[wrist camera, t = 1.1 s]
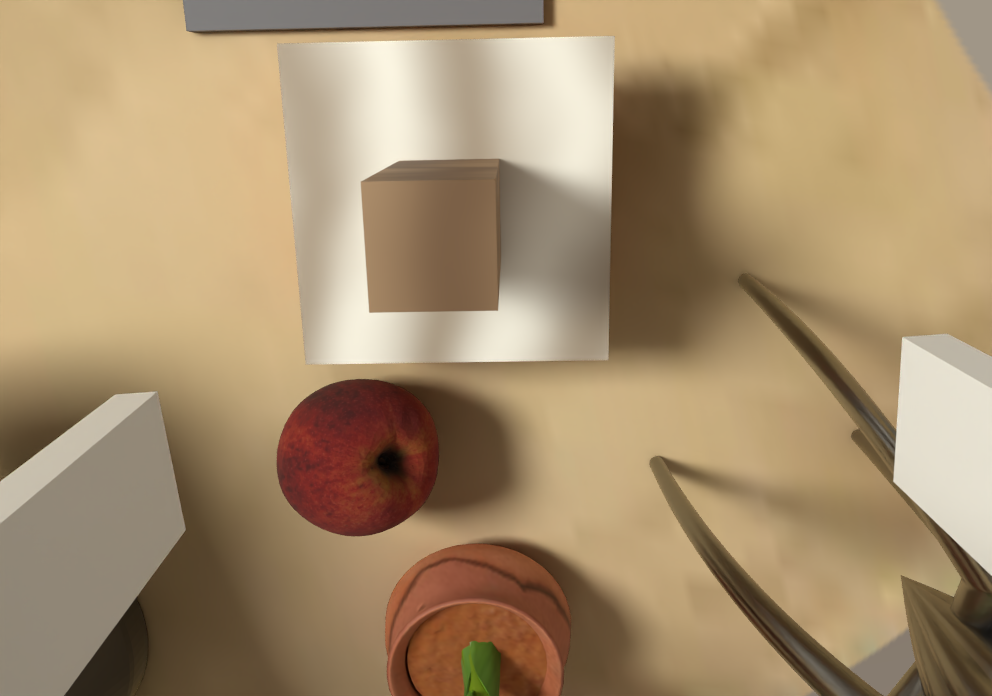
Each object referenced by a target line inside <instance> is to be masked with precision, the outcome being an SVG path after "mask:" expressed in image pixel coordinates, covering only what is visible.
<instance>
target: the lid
mask: <svg viewBox="0 0 992 696" xmlns="http://www.w3.org/2000/svg"><path fill="white" fill-rule="evenodd" d="M614 42H615V36H592V37H548V38H504V39H460V40H416V41H372V42H328V43H284V44H277V50H278V61H279V72H280V83H281V94H282V105H283V116H284V128H285V139H286V150H287V161H288V172H289V183H290V194H291V205H292V216H293V227H294V238H295V250H296V261H297V272H298V283H299V294H300V305H301V316H302V327H303V338H304V349H305V360H306V364H367V363H437V362H507V361H576V360H608V352H609V300H610V249H611V197H612V145H613V94H614Z"/></svg>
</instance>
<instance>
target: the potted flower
mask: <svg viewBox="0 0 992 696" xmlns="http://www.w3.org/2000/svg"><path fill="white" fill-rule="evenodd" d="M570 636H571V616H570V609H569V606H568V603H567V600H566V597H565V595H564V593H563V591H562V590H561V588H560V586H559V585H558V583H557V582H556V581H555V579H554V578H553V577H552V575H551V574H549V573H548V572H547V571H546V570H545V569H544V568H543V567H542V566H541V565H540V564H538V563H537V562H535V561H534V560H532V559H531V558H529V557H527V556H525V555H523V554H521V553H519V552H517V551H514V550H511V549H508V548H505V547H502V546H495V545H489V544H465V545H457V546H453V547H449V548H445V549H442V550H440V551H437V552H435V553H433V554H430V555H428V556H427V557H425V558H424V559H422V560H420V561H419V562H417V563H416V564H415V565H414V566H413V567H411V568H410V569H409V570H408V571H407V572H406V573H405V574H404V576H403V577H402V578H401V579H400V580H399V582H398V583H397V585H396V587H395V588H394V590H393V592H392V594H391V597H390V600H389V602H388V605H387V612H386V622H385V641H386V649H387V654H388V662H387V680H388V685H389V690H390V692H391V695H392V696H560V695H561V692H562V687H563V683H564V666H565V664H566V661H567V657H568V652H569V646H570Z"/></svg>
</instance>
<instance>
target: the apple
mask: <svg viewBox="0 0 992 696" xmlns="http://www.w3.org/2000/svg"><path fill="white" fill-rule="evenodd" d="M438 462H439V444H438V436H437V431H436V427H435V424H434V421H433V419H432V417H431V415H430V413H429V412H428V410H427V409H426V407H425V406H424V405H423V404H422V403H421V402H420V401H419V400H418V399H417V398H416V397H415V396H414V395H413V394H411V393H410V392H408V391H407V390H405V389H403V388H401V387H399V386H396V385H394V384H391V383H388V382H384V381H379V380H369V379H355V380H345V381H340V382H336V383H333V384H330V385H327V386H325V387H323V388H321V389H319V390H317V391H315V392H314V393H312V394H311V395H309V396H308V397H307V398H306V399H304V400H303V401H302V402H301V403H300V404H299V405H298V406H297V407H296V408H295V409H294V411H293V412H292V414H291V415H290V417H289V419H288V420H287V422H286V424H285V426H284V429H283V431H282V434H281V437H280V440H279V445H278V449H277V473H278V479H279V484H280V487H281V489H282V492H283V494H284V496H285V497H286V499H287V501H288V502H289V503H290V505H291V506H292V507H293V508H294V509H295V510H296V511H297V512H298V513H299V514H300V515H301V516H302V517H304V518H305V519H306V520H308V521H309V522H311V523H312V524H314V525H315V526H318V527H320V528H322V529H324V530H327V531H329V532H332V533H336V534H340V535H345V536H366V535H372V534H376V533H380V532H383V531H385V530H388V529H390V528H392V527H394V526H397V525H398V524H400V523H402V522H403V521H405V520H406V519H408V518H409V517H410V516H412V515H413V514H414V513H415V512H416V511H418V510H419V508H420V507H421V506H422V505H423V504H424V503H425V501H426V500H427V498H428V496H429V495H430V493H431V491H432V488H433V486H434V483H435V480H436V476H437V470H438Z"/></svg>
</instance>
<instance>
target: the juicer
mask: <svg viewBox="0 0 992 696" xmlns="http://www.w3.org/2000/svg"><path fill="white" fill-rule="evenodd" d="M738 283H739V285H740V287H741V288H742V289H743V290H744V291H745V292H746V293H747V294H748V295H749V296H750V297H751V298H752V299H753V300H754V301H755V302H756V304H757V305H758V306H759V307H760V308H761V309H762V310H763V311H764V312H765V314H766V315H767V316H768V317H769V318H770V319H771V320H772V321H773V323H774V324H775V325H776V326H777V327H778V328H779V330H780V331H781V332H782V333H783V334H784V335H785V337H786V338H787V339H788V340H789V341H790V342H791V344H792V345H793V346H794V347H795V348H796V350H797V351H798V352H799V353H800V354H801V356H802V357H803V358H804V359H805V360H806V362H807V363H808V364H809V365H810V367H811V368H812V369H813V370H814V371H815V373H816V374H817V375H818V376H819V378H820V379H821V380H822V381H823V383H824V384H825V385H826V386H827V388H828V389H829V390H830V391H831V393H832V394H833V395H834V396H835V398H836V399H837V400H838V402H839V403H840V404H841V405H842V407H843V408H844V409H845V411H846V412H847V413H848V414H849V416H850V417H851V418H852V420H853V421H854V422H855V424H856V425H857V426H858V428H859V429H860V430H855V431H854V432H853V433H852V435H851V438H852V440H853V441H854V442H855V443H856V444H857V446H858V447H859V448H860V449H861V450H862V451H863V452H864V453H865V455H866V456H867V457H868V458H869V459H870V460H871V461H872V463H873V464H874V465H875V466H876V467H877V468H878V470H879V471H880V472H881V473H882V474H883V475H884V477H885V478H886V479H887V480H888V481H889V482H890V484H891V485H892V486H893V487H894V488H895V489H896V491H897V492H898V493H899V494H900V495H901V497H902V498H903V499H904V500H905V501H906V503H907V504H908V505H909V506H910V507H911V509H912V510H913V511H914V512H915V513H916V515H917V516H918V517H919V518H920V519H921V521H922V522H923V523H924V524H925V525H926V527H927V528H928V529H929V530H930V532H931V533H932V534H933V535H934V536H935V538H936V539H937V540H938V542H939V543H940V545H941V546H942V548H943V549H944V551H945V553H946V554H947V556H948V557H949V559H950V560H951V562H952V564H953V565H954V567H955V568H956V570H957V572H958V573H959V575H960V576H961V581H960V584H959V586H958V589H957V591H956V594H955V596H954V597H952V596H950V595H947V594H945V593H943V592H941V591H938V590H936V589H934V588H931V587H929V586H926V585H924V584H922V583H919V582H917V581H914V580H912V579H909V578H907V577H904V576H902V575H901V580H902V588H903V595H904V602H905V609H906V615H907V621H908V626H909V632H910V637H911V642H912V647H913V652H914V656H915V662H914V663H913V665H912V666H911V667H910V668H909V670H908V671H907V672H906V673H905V674H904V676H903V677H902V678H901V679H900V681H899V682H898V683H897V684H896V686H895V687H894V688H893V689H892V691H891V692H890V693H889V694H888V695H887V696H992V576H991V575H990V574H989V573H988V572H987V571H986V570H985V569H984V568H983V567H982V566H981V565H980V564H979V563H978V562H977V561H976V560H975V559H974V558H972V557H971V556H970V555H969V554H968V553H967V552H966V551H965V550H964V549H963V548H962V547H961V546H960V545H959V544H958V543H957V542H956V541H955V540H954V539H953V538H952V537H951V536H950V535H949V534H947V533H946V532H945V531H944V530H943V529H942V528H941V527H940V526H939V525H938V524H937V523H936V522H935V521H934V520H933V519H932V518H931V517H930V516H929V515H928V514H927V513H926V512H925V511H923V510H922V509H921V508H920V507H919V506H918V505H917V504H916V503H915V502H914V501H913V500H912V499H911V498H910V497H909V496H908V495H907V494H906V493H905V492H904V491H903V490H902V489H901V488H900V487H898V486H897V485H896V484H895V483H894V482H893V479H894V463H895V447H896V429H895V428H894V427H893V425H892V424H891V423H890V422H889V420H888V419H887V418H886V417H885V415H884V414H883V413H882V411H881V410H880V409H879V408H878V406H877V405H876V404H875V403H874V401H873V400H872V399H871V398H870V397H869V395H868V394H867V393H866V392H865V390H864V389H863V388H862V387H861V386H860V384H859V383H858V382H857V381H856V380H855V378H854V377H853V376H852V375H851V374H850V372H849V371H848V370H847V369H846V368H845V367H844V365H843V364H842V363H841V362H840V361H839V360H838V359H837V357H836V356H835V355H834V354H833V353H832V352H831V351H830V350H829V349H828V347H827V346H826V345H825V344H824V343H823V342H822V341H821V340H820V339H819V338H818V337H817V336H816V335H815V334H814V332H813V331H812V330H811V329H810V328H809V327H808V326H807V325H806V324H805V323H804V322H803V321H802V320H801V319H800V318H799V317H798V316H797V315H796V314H795V313H794V312H793V311H791V310H790V309H789V308H788V307H787V306H786V305H785V304H784V303H783V302H782V301H781V300H780V299H778V298H777V297H776V296H775V295H774V294H773V293H772V292H771V291H769V290H768V289H767V288H766V287H765V286H763V285H762V284H761V283H760V282H759V281H757V280H756V279H755V278H753V277H752V276H751V275H750V274H747V273H745V274H742V275H741V276H740V277H739V279H738ZM650 467H651V469H652V472H653V474H654V476H655V478H656V480H657V482H658V485H659V487H660V489H661V491H662V493H663V495H664V497H665V498H666V500H667V502H668V504H669V506H670V508H671V510H672V511H673V513H674V515H675V517H676V518H677V520H678V522H679V523H680V525H681V527H682V529H683V530H684V532H685V533H686V535H687V537H688V538H689V540H690V541H691V543H692V544H693V546H694V548H695V549H696V551H697V552H698V554H699V555H700V556H701V558H702V559H703V561H704V562H705V564H706V565H707V567H708V568H709V569H710V571H711V572H712V574H713V575H714V576H715V578H716V579H717V580H718V582H719V583H720V584H721V586H722V587H723V588H724V590H725V591H726V592H727V593H728V595H729V596H730V597H731V599H732V600H733V601H734V602H735V604H736V605H737V606H738V607H739V609H740V610H741V611H742V612H743V613H744V615H745V616H746V617H747V618H748V619H749V621H750V622H751V623H752V624H753V625H754V627H755V628H756V629H757V630H758V631H759V632H760V633H761V635H762V636H763V637H764V638H765V639H766V640H767V641H768V643H769V644H770V645H771V646H772V647H773V648H774V649H775V650H776V651H777V653H778V654H779V655H780V656H781V657H782V658H783V659H784V660H785V661H786V662H787V663H788V664H789V665H790V667H791V668H792V669H793V670H794V671H795V672H796V673H797V674H798V675H799V676H800V677H801V678H802V679H803V680H804V681H805V682H806V683H807V684H808V685H809V686H810V687H811V688H812V689H813V690H814V691H815V692H816V693H817V694H818V695H819V696H883V695H882V694H880V693H879V692H877V691H876V690H875V689H874V688H872V687H871V686H870V685H869V684H867V683H866V682H865V681H863V680H862V679H861V678H860V677H858V676H857V675H856V674H855V673H853V672H852V671H851V670H850V669H848V668H847V667H846V666H845V665H844V664H842V663H841V662H840V661H839V660H838V659H836V658H835V657H834V656H833V655H832V654H831V653H829V652H828V651H827V650H826V649H825V648H824V647H822V646H821V645H820V644H819V643H818V642H817V641H816V640H815V639H813V638H812V637H811V636H810V635H809V634H808V633H807V632H806V631H805V630H803V629H802V628H801V627H800V626H799V625H798V624H797V623H796V622H795V621H794V620H793V619H792V618H791V617H790V616H789V615H787V614H786V613H785V612H784V611H783V610H782V609H781V608H780V607H779V606H778V605H777V604H776V603H775V602H774V601H773V600H772V599H771V598H770V597H769V596H768V595H767V594H766V593H765V592H764V591H763V590H762V589H761V588H760V587H759V585H758V584H757V583H756V582H755V581H754V580H753V579H752V578H751V577H750V576H749V575H748V574H747V573H746V572H745V570H744V569H743V568H742V567H741V566H740V565H739V564H738V563H737V561H736V560H735V559H734V558H733V557H732V556H731V555H730V553H729V552H728V551H727V550H726V549H725V547H724V546H723V545H722V544H721V543H720V541H719V540H718V539H717V538H716V536H715V535H714V534H713V533H712V531H711V530H710V529H709V528H708V526H707V525H706V524H705V522H704V521H703V520H702V518H701V517H700V516H699V514H698V513H697V512H696V510H695V509H694V507H693V506H692V505H691V503H690V502H689V500H688V499H687V497H686V496H685V494H684V493H683V491H682V490H681V488H680V487H679V485H678V484H677V482H676V481H675V479H674V478H673V476H672V474H671V473H670V471H669V469H668V468H667V466H666V464H665V463H664V461H663V459H662V458H661V457H658V456H656V457H653V458H652V459H651V460H650Z"/></svg>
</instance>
